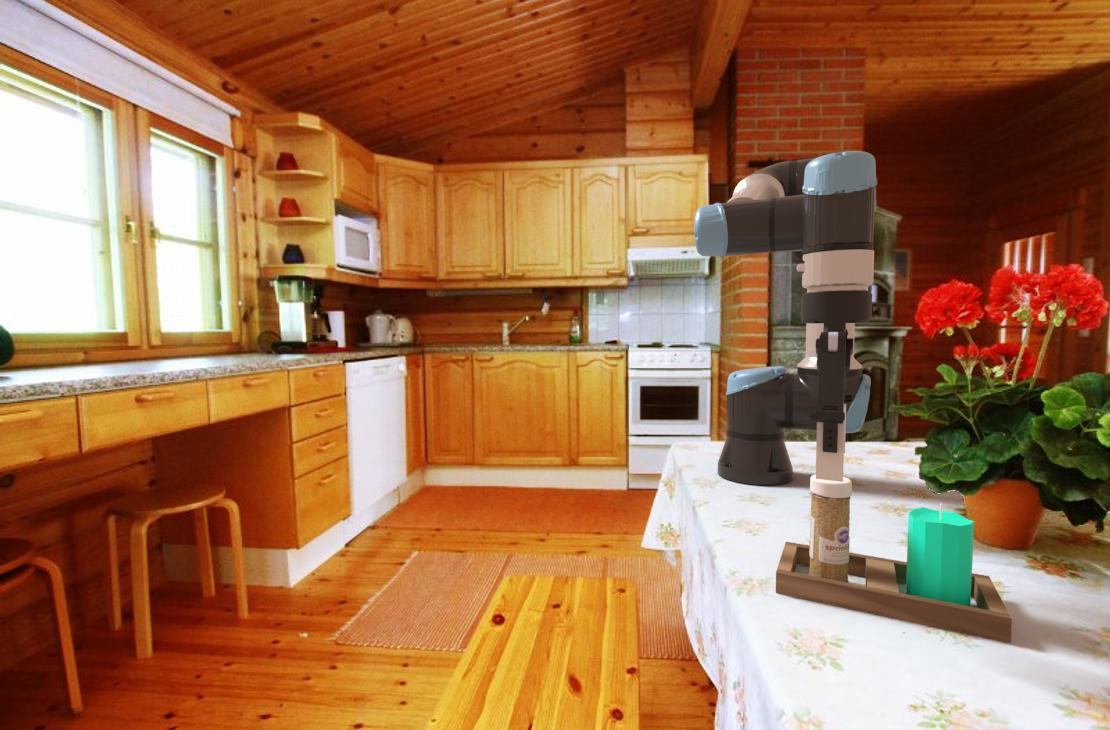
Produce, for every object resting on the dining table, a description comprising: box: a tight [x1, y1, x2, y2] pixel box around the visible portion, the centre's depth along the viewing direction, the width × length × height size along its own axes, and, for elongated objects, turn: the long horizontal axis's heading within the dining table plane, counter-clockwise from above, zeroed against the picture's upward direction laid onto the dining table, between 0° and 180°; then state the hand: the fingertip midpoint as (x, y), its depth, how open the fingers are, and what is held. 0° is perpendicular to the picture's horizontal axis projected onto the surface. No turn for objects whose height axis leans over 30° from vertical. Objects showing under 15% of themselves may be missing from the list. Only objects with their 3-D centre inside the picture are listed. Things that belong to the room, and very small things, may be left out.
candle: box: [905, 502, 975, 607], centre depth 61 cm, size 6×6×12 cm
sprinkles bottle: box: [808, 473, 853, 583], centre depth 66 cm, size 5×5×14 cm
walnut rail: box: [775, 541, 1013, 644], centre depth 64 cm, size 10×22×2 cm, turn 61°
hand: (831, 464), depth 66 cm, fingers open, 13 cm apart
